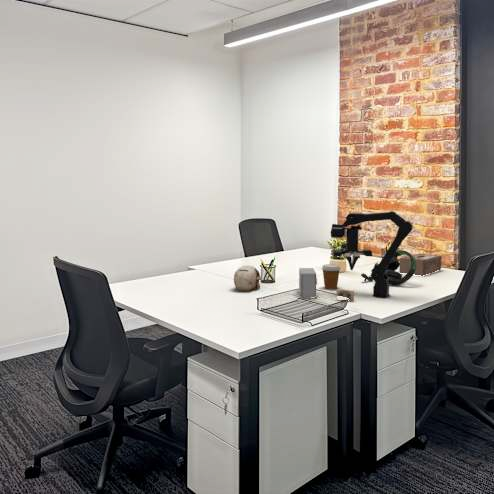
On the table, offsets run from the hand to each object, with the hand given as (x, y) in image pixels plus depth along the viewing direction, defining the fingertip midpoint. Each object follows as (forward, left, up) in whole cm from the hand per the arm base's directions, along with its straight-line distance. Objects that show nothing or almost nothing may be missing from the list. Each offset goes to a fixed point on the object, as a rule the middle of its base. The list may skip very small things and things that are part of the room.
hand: (351, 270), depth 258 cm
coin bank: (+50, +18, -12) cm, 55 cm away
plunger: (+14, +16, -6) cm, 22 cm away
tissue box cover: (-7, -80, -13) cm, 81 cm away
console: (+17, +13, -12) cm, 25 cm away
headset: (-6, -34, -12) cm, 37 cm away
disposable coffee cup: (+15, -7, -12) cm, 21 cm away
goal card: (-4, +15, -12) cm, 20 cm away
